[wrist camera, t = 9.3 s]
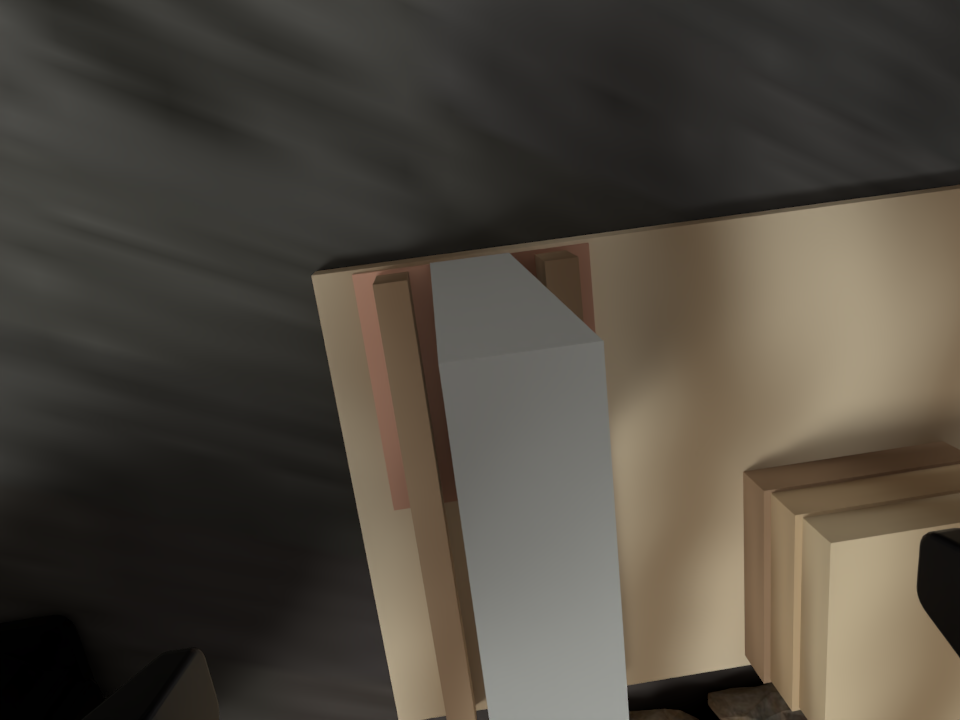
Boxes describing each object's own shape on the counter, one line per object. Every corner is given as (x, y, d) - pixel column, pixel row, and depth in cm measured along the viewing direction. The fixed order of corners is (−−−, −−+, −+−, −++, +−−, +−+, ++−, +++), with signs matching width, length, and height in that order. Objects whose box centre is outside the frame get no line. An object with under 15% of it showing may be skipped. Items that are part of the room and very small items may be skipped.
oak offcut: (770, 679, 20) (792, 711, 18) (770, 493, 18) (795, 515, 17) (950, 649, 20) (983, 678, 19) (968, 462, 18) (1005, 482, 17)
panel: (463, 498, 18) (499, 790, 10) (429, 263, 16) (438, 364, 8) (534, 488, 18) (632, 767, 10) (509, 252, 17) (604, 340, 8)
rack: (400, 703, 21) (397, 765, 19) (316, 270, 17) (300, 285, 15) (937, 614, 22) (995, 663, 20) (975, 182, 18) (1053, 183, 16)
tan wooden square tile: (744, 654, 21) (763, 683, 20) (743, 471, 19) (763, 490, 18) (927, 625, 21) (956, 651, 20) (942, 440, 19) (975, 458, 18)
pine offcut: (798, 707, 18) (823, 743, 17) (802, 517, 17) (831, 543, 16) (976, 677, 19) (1012, 710, 18) (997, 487, 17) (1039, 509, 16)
